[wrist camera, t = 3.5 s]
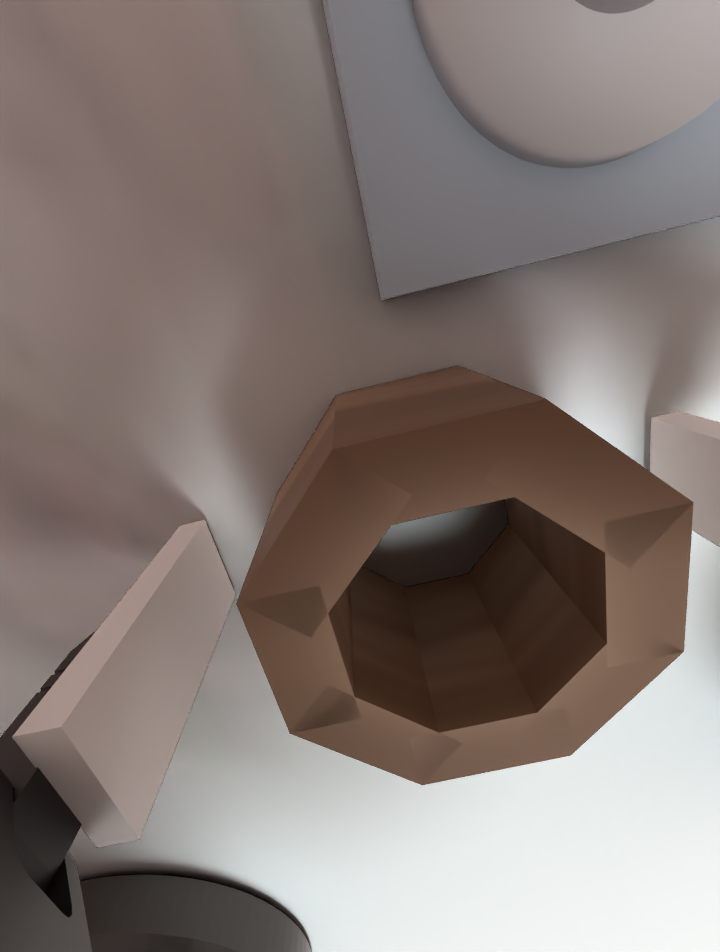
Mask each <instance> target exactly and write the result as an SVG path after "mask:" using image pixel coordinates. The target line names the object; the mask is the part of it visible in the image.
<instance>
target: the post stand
mask: <svg viewBox="0 0 720 952" xmlns="http://www.w3.org/2000/svg"><path fill="white" fill-rule="evenodd" d="M322 2H323V7H324V13H325V18H326V23H327V28H328V33H329V38H330V43H331V48H332V53H333V58H334V63H335V69H336V74H337V79H338V84H339V89H340V94H341V99H342V104H343V109H344V114H345V120H346V125H347V130H348V135H349V140H350V145H351V150H352V155H353V160H354V165H355V170H356V176H357V181H358V186H359V191H360V196H361V201H362V206H363V211H364V216H365V221H366V227H367V232H368V237H369V242H370V247H371V252H372V257H373V262H374V267H375V272H376V277H377V283H378V288H379V293H380V298H381V301H382V300H386V299H390V298H394V297H398V296H402V295H406V294H410V293H414V292H418V291H422V290H426V289H430V288H434V287H438V286H442V285H446V284H450V283H454V282H458V281H462V280H466V279H470V278H474V277H478V276H482V275H486V274H490V273H494V272H498V271H502V270H506V269H510V268H514V267H518V266H522V265H526V264H530V263H534V262H538V261H542V260H546V259H550V258H554V257H558V256H562V255H566V254H570V253H574V252H578V251H582V250H586V249H590V248H594V247H598V246H603V245H607V244H611V243H615V242H619V241H623V240H627V239H631V238H635V237H639V236H643V235H647V234H651V233H655V232H659V231H663V230H667V229H671V228H675V227H679V226H683V225H687V224H691V223H695V222H699V221H703V220H707V219H711V218H715V217H719V216H720V0H322Z"/></svg>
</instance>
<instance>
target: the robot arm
mask: <svg viewBox="0 0 720 952" xmlns="http://www.w3.org/2000/svg"><path fill="white" fill-rule="evenodd" d="M650 472H651V473H653V474H654V475H655V476H657V477H658V478H660V479H661V480H663V481H664V482H665V483H667V484H668V485H670V486H671V487H673V488H674V489H675V490H677V491H678V492H680V493H681V494H683V495H684V496H685V497H687V498H688V499H690V500H691V501H693V502H694V503H693V518H692V530H693V531H694V532H696V533H697V534H699V535H701V536H702V537H704V538H706V539H707V540H709V541H711V542H712V543H714V544H716V545H717V546H719V547H720V422H716V421H713V420H709V419H705V418H702V417H698V416H694V415H691V414H687V413H683V412H680V411H678V412H673V413H669V414H664V415H660V416H656V417H651V446H650ZM235 595H236V594H235V592H234V589H233V587H232V584H231V582H230V580H229V577H228V575H227V572H226V570H225V567H224V565H223V563H222V560H221V558H220V555H219V553H218V550H217V548H216V546H215V543H214V541H213V538H212V536H211V533H210V531H209V529H208V526H207V524H206V521H205V520H201V521H197V522H193V523H188V524H184V525H180V526H179V527H178V529H177V530H176V531H175V532H174V534H173V535H172V536H171V537H170V539H169V540H168V541H167V543H166V544H165V545H164V546H163V548H162V549H161V550H160V551H159V553H158V554H157V555H156V556H155V558H154V559H153V560H152V561H151V563H150V564H149V565H148V566H147V568H146V569H145V570H144V571H143V573H142V574H141V575H140V576H139V578H138V579H137V580H136V582H135V583H134V584H133V585H132V587H131V588H130V589H129V590H128V592H127V593H126V594H125V595H124V597H123V598H122V599H121V600H120V602H119V603H118V604H117V605H116V607H115V608H114V609H113V610H112V612H111V613H110V614H109V615H108V617H107V618H106V619H105V621H104V622H103V623H102V624H101V626H100V627H99V628H98V629H97V631H96V632H93V633H92V634H91V635H90V636H89V637H88V638H86V639H85V640H84V641H83V642H82V643H80V644H79V645H78V646H77V647H76V648H74V649H73V650H72V651H71V652H70V653H69V654H68V656H67V657H66V658H65V659H64V661H63V662H62V663H61V664H60V665H59V667H58V668H57V669H56V670H55V675H51V676H50V678H49V679H48V680H47V681H46V682H45V684H44V685H43V686H42V687H41V692H39V693H36V695H35V696H34V697H33V698H32V700H31V701H30V702H29V703H28V704H27V706H26V707H25V708H24V709H23V710H22V712H21V713H20V714H19V715H18V717H17V718H16V719H15V720H14V721H13V723H12V724H11V725H10V726H9V728H8V729H7V730H6V731H5V732H4V734H3V735H2V736H1V737H0V952H311V949H310V945H309V943H308V941H307V939H306V937H305V935H304V934H303V932H302V931H301V930H300V928H299V927H298V926H297V925H296V924H295V923H294V922H293V921H292V920H291V919H290V918H289V917H288V916H286V915H285V914H284V913H282V912H281V911H280V910H278V909H277V908H275V907H273V906H272V905H270V904H268V903H267V902H265V901H263V900H261V899H259V898H257V897H255V896H252V895H250V894H247V893H245V892H242V891H240V890H237V889H234V888H231V887H227V886H224V885H220V884H216V883H212V882H208V881H203V880H197V879H191V878H184V877H176V876H163V875H124V876H112V877H104V878H97V879H91V880H86V881H81V882H80V880H79V875H78V869H77V865H76V863H75V861H74V859H73V858H72V856H71V855H70V854H69V852H68V850H69V848H70V846H71V844H72V842H73V840H74V838H75V837H76V835H77V833H78V831H79V829H80V827H81V828H82V829H83V830H84V832H85V833H86V834H87V836H88V837H89V838H90V840H91V841H92V842H93V843H94V845H95V846H96V847H97V848H99V847H104V846H110V845H115V844H120V843H125V842H130V841H136V840H140V838H141V835H142V832H143V830H144V827H145V825H146V822H147V820H148V817H149V815H150V812H151V810H152V807H153V804H154V802H155V799H156V797H157V794H158V792H159V789H160V787H161V784H162V781H163V779H164V776H165V774H166V771H167V769H168V766H169V764H170V761H171V759H172V756H173V753H174V751H175V748H176V746H177V743H178V741H179V738H180V736H181V733H182V731H183V728H184V725H185V723H186V720H187V718H188V715H189V713H190V710H191V708H192V705H193V702H194V700H195V697H196V695H197V692H198V690H199V687H200V685H201V682H202V680H203V677H204V674H205V672H206V669H207V667H208V664H209V662H210V659H211V657H212V654H213V652H214V649H215V646H216V644H217V641H218V639H219V636H220V634H221V631H222V629H223V626H224V623H225V621H226V618H227V616H228V613H229V611H230V608H231V606H232V603H233V601H234V598H235Z"/></svg>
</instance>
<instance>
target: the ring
mask: <svg viewBox="0 0 720 952" xmlns="http://www.w3.org/2000/svg"><path fill="white" fill-rule="evenodd" d="M504 499H506V507H507V516H508V525H507V526H506V528H505V529H504V530H503V531H502V533H501V534H500V535H499V536H498V537H497V539H496V540H495V541H494V542H493V544H492V545H491V546H490V547H489V549H488V550H487V551H486V552H485V553H484V555H483V556H482V557H481V558H480V560H479V561H478V562H477V563H476V564H475V566H474V567H473V568H472V569H471V571H470V572H469V573H468V574H465V575H461V576H456V577H451V578H447V579H442V580H438V581H433V582H429V583H424V584H420V585H415V586H411V587H406V588H404V587H402V586H400V585H398V584H396V583H394V582H392V581H390V580H388V579H386V578H384V577H382V576H380V575H379V574H377V573H375V572H373V571H371V570H369V569H367V568H365V567H363V566H362V565H363V564H364V563H365V561H366V560H367V558H368V557H369V556H370V554H371V553H372V551H373V550H374V549H375V547H376V546H377V544H378V543H379V542H380V540H381V539H382V537H383V536H384V535H385V533H386V532H387V530H388V529H389V528H390V526H391V525H394V524H398V523H402V522H407V521H411V520H416V519H420V518H424V517H429V516H433V515H438V514H442V513H446V512H451V511H455V510H460V509H464V508H469V507H473V506H477V505H482V504H486V503H491V502H495V501H499V500H504ZM693 503H694V502H693V501H691V500H690V499H688V498H687V497H685V496H684V495H683V494H681V493H680V492H678V491H677V490H675V489H674V488H673V487H671V486H670V485H668V484H667V483H665V482H664V481H663V480H661V479H660V478H658V477H657V476H655V475H654V474H653V473H651V472H650V471H648V470H647V469H645V468H644V467H643V466H641V465H640V464H638V463H637V462H635V461H634V460H633V459H631V458H630V457H628V456H627V455H625V454H624V453H623V452H621V451H620V450H618V449H617V448H615V447H614V446H613V445H611V444H610V443H608V442H607V441H605V440H604V439H603V438H601V437H600V436H598V435H597V434H595V433H594V432H593V431H591V430H590V429H588V428H587V427H585V426H584V425H583V424H581V423H580V422H578V421H577V420H575V419H574V418H573V417H571V416H570V415H568V414H567V413H565V412H564V411H563V410H561V409H560V408H558V407H557V406H555V405H554V404H552V403H551V402H550V401H548V400H547V399H545V398H542V397H540V396H537V395H535V394H532V393H529V392H527V391H524V390H521V389H519V388H516V387H513V386H511V385H508V384H505V383H503V382H500V381H498V380H495V379H492V378H490V377H487V376H484V375H482V374H479V373H476V372H474V371H471V370H468V369H466V368H463V367H461V366H454V367H450V368H446V369H442V370H438V371H434V372H429V373H425V374H421V375H417V376H413V377H409V378H405V379H400V380H396V381H392V382H388V383H384V384H380V385H376V386H371V387H367V388H363V389H359V390H355V391H351V392H346V393H342V394H338V395H336V396H335V398H334V399H333V401H332V403H331V404H330V406H329V408H328V409H327V411H326V413H325V414H324V416H323V418H322V419H321V421H320V423H319V424H318V426H317V428H316V429H315V431H314V433H313V434H312V436H311V438H310V439H309V441H308V443H307V445H306V446H305V448H304V450H303V451H302V453H301V455H300V456H299V458H298V460H297V461H296V463H295V465H294V466H293V468H292V470H291V471H290V473H289V475H288V476H287V478H286V480H285V481H284V483H283V485H282V486H281V488H280V490H279V491H278V493H277V495H276V498H275V501H274V503H273V506H272V509H271V512H270V514H269V517H268V520H267V522H266V525H265V528H264V530H263V533H262V536H261V539H260V541H259V544H258V547H257V549H256V552H255V555H254V557H253V560H252V563H251V565H250V568H249V571H248V574H247V576H246V579H245V582H244V584H243V587H242V590H241V592H240V595H239V598H238V600H237V603H236V604H237V607H238V609H239V611H240V614H241V616H242V619H243V621H244V623H245V626H246V628H247V631H248V633H249V636H250V638H251V640H252V643H253V645H254V648H255V650H256V652H257V655H258V657H259V660H260V662H261V665H262V667H263V669H264V672H265V674H266V677H267V679H268V681H269V684H270V686H271V689H272V691H273V694H274V696H275V698H276V701H277V703H278V706H279V708H280V710H281V713H282V715H283V718H284V720H285V722H286V725H287V727H288V730H289V732H290V734H293V735H295V736H298V737H300V738H303V739H305V740H308V741H310V742H313V743H316V744H318V745H321V746H323V747H326V748H328V749H331V750H334V751H336V752H339V753H341V754H344V755H346V756H349V757H352V758H354V759H357V760H359V761H362V762H364V763H367V764H369V765H372V766H375V767H377V768H380V769H382V770H385V771H387V772H390V773H393V774H395V775H398V776H400V777H403V778H405V779H408V780H410V781H413V782H416V783H418V784H421V785H425V784H430V783H435V782H440V781H445V780H450V779H455V778H460V777H465V776H470V775H475V774H480V773H485V772H490V771H495V770H500V769H505V768H510V767H515V766H520V765H525V764H530V763H535V762H540V761H545V760H550V759H555V758H560V757H565V756H570V755H572V754H573V753H574V752H575V751H576V750H577V749H578V748H579V747H580V746H581V745H583V744H584V743H585V742H586V741H587V740H588V739H589V738H590V737H591V736H592V735H593V734H594V733H596V732H597V731H598V730H599V729H600V728H601V727H602V726H603V725H604V724H605V723H606V722H608V721H609V720H610V719H611V718H612V717H613V716H614V715H615V714H616V713H617V712H618V711H620V710H621V709H622V708H623V707H624V706H625V705H626V704H627V703H628V702H629V701H630V700H632V699H633V698H634V697H635V696H636V695H637V694H638V693H639V692H640V691H641V690H642V689H644V688H645V687H646V686H647V685H648V684H649V683H650V682H651V681H652V680H653V679H654V678H656V677H657V676H658V675H659V674H660V673H661V672H662V671H663V670H664V669H665V668H666V667H668V666H669V665H670V664H671V663H672V662H673V661H674V660H675V659H676V658H677V657H678V656H680V655H681V654H682V653H683V652H684V639H685V624H686V609H687V594H688V579H689V564H690V549H691V533H692V518H693Z"/></svg>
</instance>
